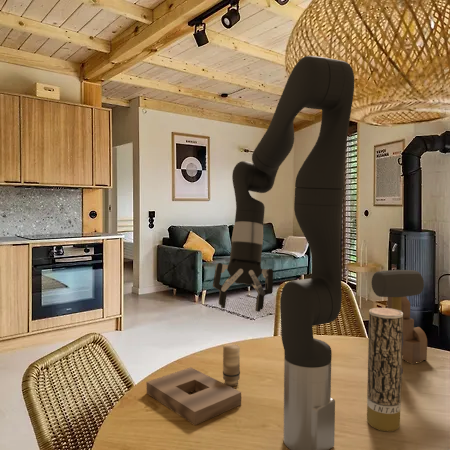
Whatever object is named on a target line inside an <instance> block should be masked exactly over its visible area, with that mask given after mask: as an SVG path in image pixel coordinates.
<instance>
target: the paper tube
mask: <svg viewBox="0 0 450 450" xmlns="http://www.w3.org/2000/svg"><path fill="white" fill-rule="evenodd" d="M402 337H403V312H401V311H399V310H395V309H390V308H387V307H373V308H370V309H369V313H368V346H367V347H368V348H367V349H368V352H367V389H366V390H367V391H366V392H367V393H366V394H367V395H366V396H367V397H366V420H367V421H366V422H368V424H369V426H371V427H372V428H374V429H376V430H378V431H381V432H395V431H397V430H399V428H400V426H401V406H402V405H401V403H402V400H401V399H402V375H403V373H402V369H403V356H402ZM401 374H402V375H401Z"/></svg>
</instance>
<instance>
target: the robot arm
mask: <svg viewBox="0 0 450 450" xmlns="http://www.w3.org/2000/svg"><path fill="white" fill-rule="evenodd" d="M354 74H355V73H354V69H353V68H352V66H351V64H350V63H349V62H347V61H344V60H340V59H334V58H329V57H323V56H319V55H318V56H317V55H306V56H304V57H302V58H300V59H299V60H298V61H297V63H296V64H295V66H294V67H293V68H292V69H291V72H290V74H289V76H288V78H287V81H286V83H285V85H284V88H283V89H282V93H281V95H280V98H279V101H278V103H277V106H276V108H275V111H274V114H273V115H272V118H271V120H270V124H269V126H268V128H267V130H265V133H264V134H263V136H262V138H261V139H260V141H259V142H258V144H257V145H256V146H255V149H254V150H253V152H252V155H251V160H252V161H246V160H242V161H239V162H237V163H236V165H235V166H234V168H233V170H232V185H233V191H234V196H235V198H234V199H235V208H236V209H235V218H234V223H233V224H234V225H233V230H232V236H231V247H230V257H229V262H228V264H224V263H222V262H218V263H216V264H215V265H216V266H215V269H214V277H213V281H212V287H213V288H214V289H216V290H218V291H219V297H218V305H219V306H220V308H221V309H225V308H226V304H227V303H226V302H227V295H228V294H227V293H228V292H227V290H228V289H229V288H230V287H231V286H232V285H233V284H235V283H236V284H244V285H251V286H252V287H253V288H254V289H255V290H254V291H256V293H257V295H256V299H255V312H257V313H259V312H261V310H263V309H264V304H265V303H264V301H265V296H267V295H271V294H272V293H273V291H274V290H273V289H274V285H273V284H274V270H273V269H272V268H268V269H265V268H262V266H261V264H262V255H263V254H262V253H263V243H264V221H265V219H264V218H265V212H266V211H265V208H266V207H265V204H264V203H263V202H262V201H260V200H258V199H255V198H254V197H253V196H252V195H251V194H250V192H253V193H259V194H265V193H268V192H269V191H271V190H272V189H273V186H274V185H275V181H276V177H277V173H278V171H279V168H280V166H281V165H282V164H283V162H284V161H285V160H286V159H287V157H288V156H289V155H290V153H291V151H292V149H293V147H294V142H295V129H294V121H295V118H296V117H297V116H298V114H299V113H300V112H301V111H302V110H303V109H305V108H306V109H312V110H319V111H320V110H321V123H320V129H319V134H318V137H317V140H316V142H315V144H314V145H313V147H312V149H311V150H310V152H309V154H308V155H307V157H306V158H305V160H304V161H303V163H302V164H301V166H300V168H299V170H298V172H297V174H296V178H295V182H294V183H295V184H294V205H293V209H294V210H293V211H294V216H295V219H296V221H297V224H298V226H299V228H300V231H301V232H302V234H303V236H304V238H305V240H306V242H307V245H308V246H309V250H310V254H311V276H310V278H303V279H295V280H289V281H287V282H286V283H285V284H284V286H283V287H282V289H281V294H280V301H279V302H280V303H279V304H280V305H279V306H280V307H279V309H280V310H279V311H280V332H281V333H280V334H281V342H282V343H281V344H282V347H283V351H284V353H283V354H284V359H283V362H284V363H283V365H284V366H283V367H284V368H283V369H284V370H283V443H284V445H285V447H287V448H288V449H289V450H331V449H333V447H335V434H336V433H335V429H336V428H335V426H336V425H335V421H336V419H335V418H336V400H335V399H334V398H332V397H331V396H332V357H333V356H332V352H333V351H332V347H331V346H330V344H328V343H327V342H325V340H324V341H323V340H321V339H318V338H314V331H313V327H314V326H320V325H325V324H329V323H331V322H334V321H335V320H336V319H337V318H338V316H339V314H340V312H341V308H342V301H343V299H342V298H343V294H342V293H343V291H342V288H343V287H342V268H341V265H342V264H341V239H342V238H341V236H342V215H343V207H344V205H343V204H344V192H345V191H344V188H345V165H346V151H347V140H348V133H349V128H350V120H351V113H352V108H353V102H354V101H353V100H354V96H355V95H354V94H355V75H354ZM225 271H227V272H228V273H229V274H228V275H230V276H229V277H228V278H227V279H226V280H225V281H224V283H223V284H221V277H222V274H223V273H225ZM261 275H262V277H263V278H264V279H265V280H264V281H265V283H264V285H265V286H264V288H263V286H262V283H261V282H260V280H259V278H260V276H261Z"/></svg>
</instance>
